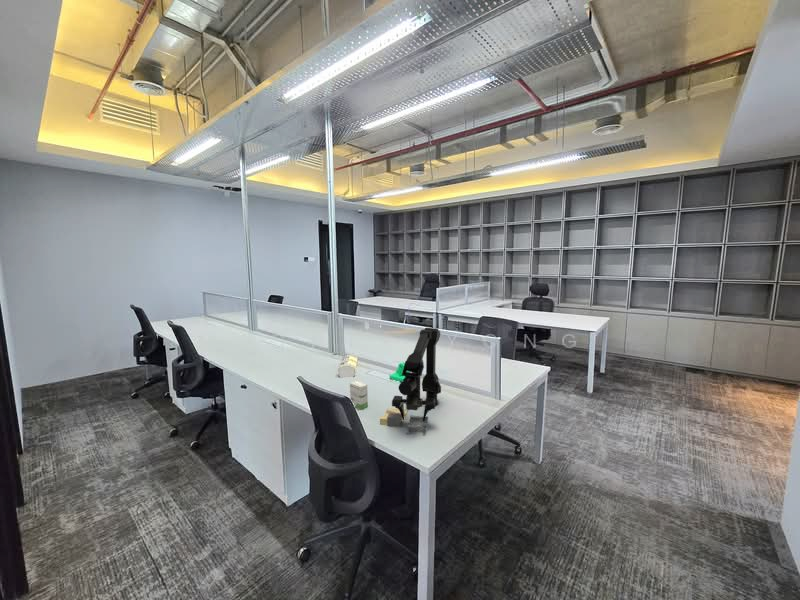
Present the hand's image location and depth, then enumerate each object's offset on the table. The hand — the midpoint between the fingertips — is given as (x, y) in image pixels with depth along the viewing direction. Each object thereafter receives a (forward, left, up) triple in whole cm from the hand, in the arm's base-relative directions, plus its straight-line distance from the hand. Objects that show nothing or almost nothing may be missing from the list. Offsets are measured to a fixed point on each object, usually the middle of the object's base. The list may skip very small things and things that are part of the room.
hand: (413, 420), depth 145 cm
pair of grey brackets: (0, +2, -2) cm, 3 cm away
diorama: (-66, -51, -3) cm, 83 cm away
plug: (0, -9, -2) cm, 9 cm away
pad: (-9, -10, -2) cm, 13 cm away
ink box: (-15, -30, -2) cm, 33 cm away
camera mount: (-55, -15, -3) cm, 57 cm away
